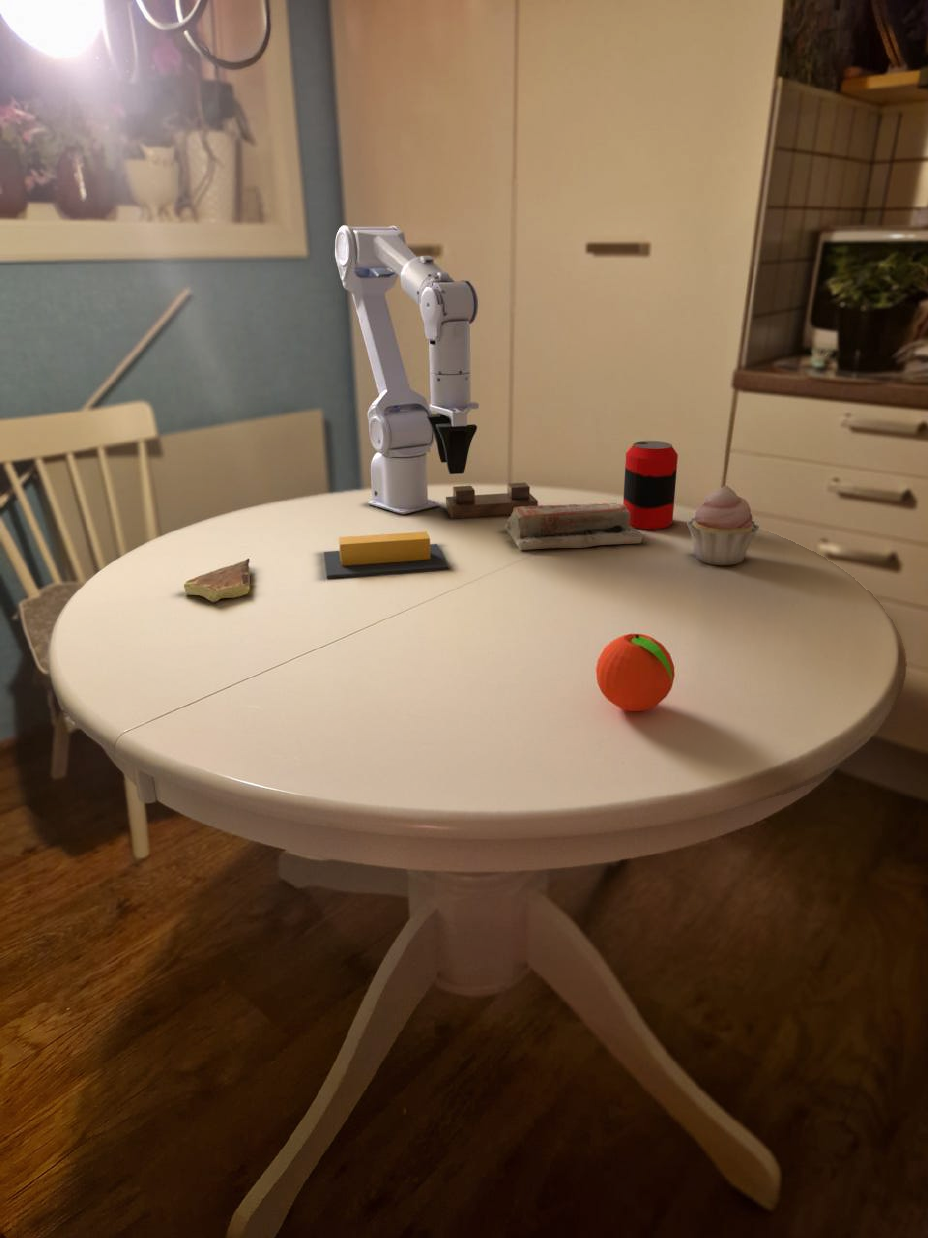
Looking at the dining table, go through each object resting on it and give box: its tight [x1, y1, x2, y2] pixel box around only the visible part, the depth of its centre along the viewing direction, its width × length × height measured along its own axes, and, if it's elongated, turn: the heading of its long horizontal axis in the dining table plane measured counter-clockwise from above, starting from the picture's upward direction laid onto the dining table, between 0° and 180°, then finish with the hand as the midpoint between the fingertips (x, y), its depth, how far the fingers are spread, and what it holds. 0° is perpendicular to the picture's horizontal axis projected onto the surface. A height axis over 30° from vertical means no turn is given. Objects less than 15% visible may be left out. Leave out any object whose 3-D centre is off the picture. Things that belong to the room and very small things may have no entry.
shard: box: [183, 558, 251, 603], centre depth 109 cm, size 11×8×2 cm
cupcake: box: [686, 485, 760, 566], centre depth 115 cm, size 9×9×10 cm
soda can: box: [622, 440, 679, 530], centre depth 130 cm, size 8×8×12 cm
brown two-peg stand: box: [445, 482, 539, 519], centre depth 140 cm, size 14×6×4 cm, turn 101°
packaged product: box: [505, 502, 643, 551], centre depth 125 cm, size 18×5×10 cm
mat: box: [323, 543, 450, 579], centre depth 117 cm, size 16×10×1 cm, turn 101°
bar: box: [338, 530, 431, 566], centre depth 117 cm, size 12×3×3 cm, turn 100°
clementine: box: [595, 633, 675, 712], centre depth 77 cm, size 8×7×7 cm
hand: (451, 467), depth 128 cm, fingers open, 7 cm apart
